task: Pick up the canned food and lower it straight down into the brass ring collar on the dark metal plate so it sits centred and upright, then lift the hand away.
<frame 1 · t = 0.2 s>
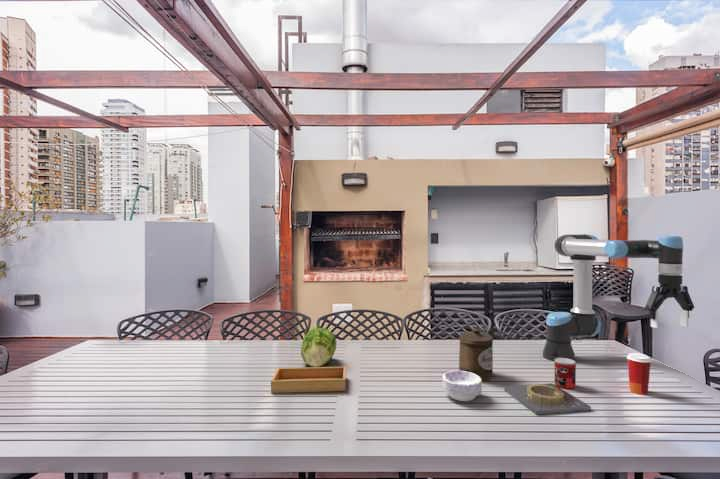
hand: (669, 326, 154), 28 cm above the table, tool pointing down, fingers open, 13 cm apart
wooden container: (475, 375, 176), on the table
canned food: (564, 386, 164), on the table
tray: (310, 386, 165), on the table
collar plate: (544, 399, 150), on the table
paper bowls: (461, 397, 153), on the table
coffee cup: (638, 392, 158), on the table
lettuce: (318, 364, 191), on the table
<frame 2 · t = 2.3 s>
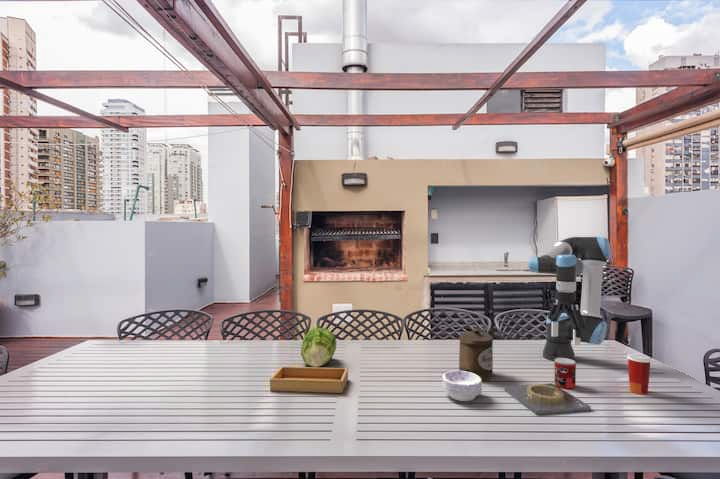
hand: (565, 340, 163), 20 cm above the table, tool pointing down, fingers open, 13 cm apart
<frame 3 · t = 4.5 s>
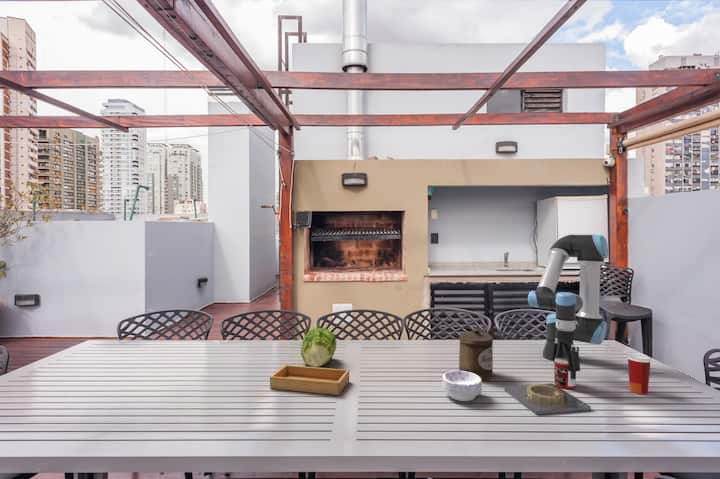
hand: (564, 381, 164), 2 cm above the table, tool pointing down, fingers closed on canned food, 8 cm apart
canned food: (564, 386, 164), on the table, touching gripper
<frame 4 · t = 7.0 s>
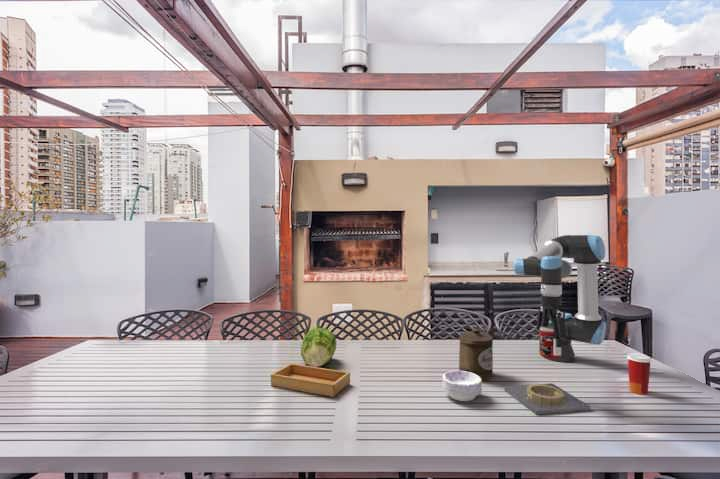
hand: (550, 351, 153), 18 cm above the table, tool pointing down, fingers closed on canned food, 8 cm apart
canned food: (550, 356, 153), point 16 cm above the table, touching gripper
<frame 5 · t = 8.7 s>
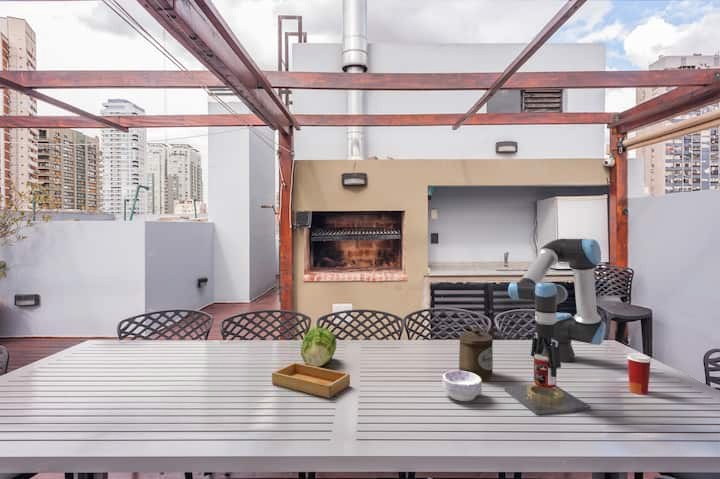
hand: (545, 380, 150), 8 cm above the table, tool pointing down, fingers closed on canned food, 8 cm apart
canned food: (544, 384, 150), point 6 cm above the table, touching gripper
when the fingers open (4 cm above the table, at t = 9.8 s): canned food stays where it is, resting on collar plate.
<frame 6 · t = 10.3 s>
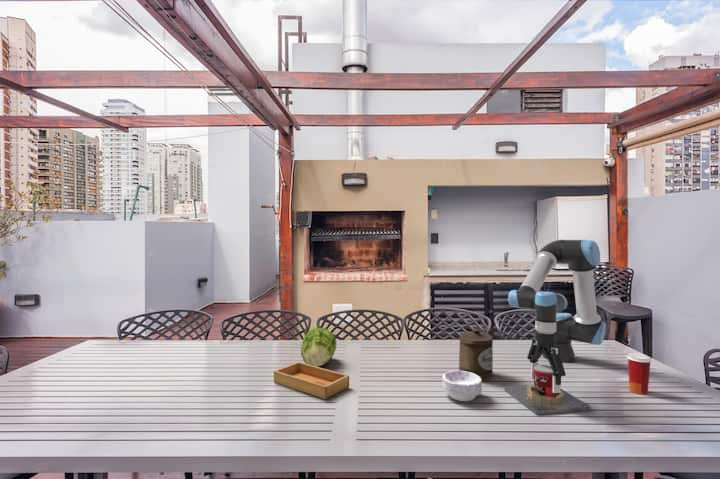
hand: (545, 385, 150), 6 cm above the table, tool pointing down, fingers open, 13 cm apart
canned food: (544, 396, 150), point 1 cm above the table, touching collar plate
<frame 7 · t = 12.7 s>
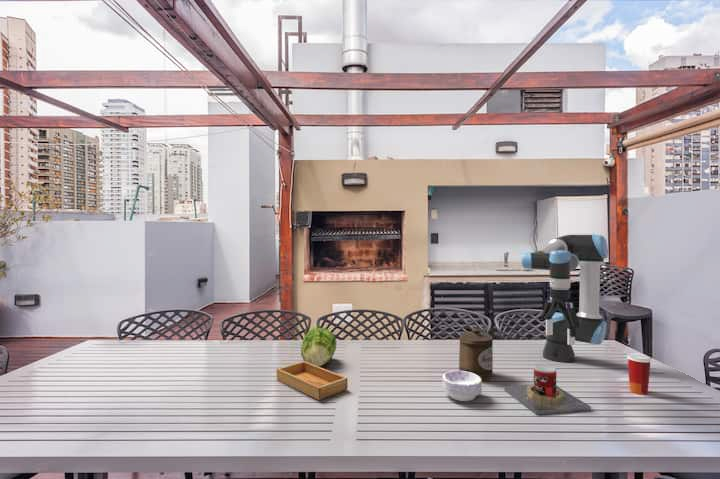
hand: (559, 339, 157), 22 cm above the table, tool pointing down, fingers open, 13 cm apart
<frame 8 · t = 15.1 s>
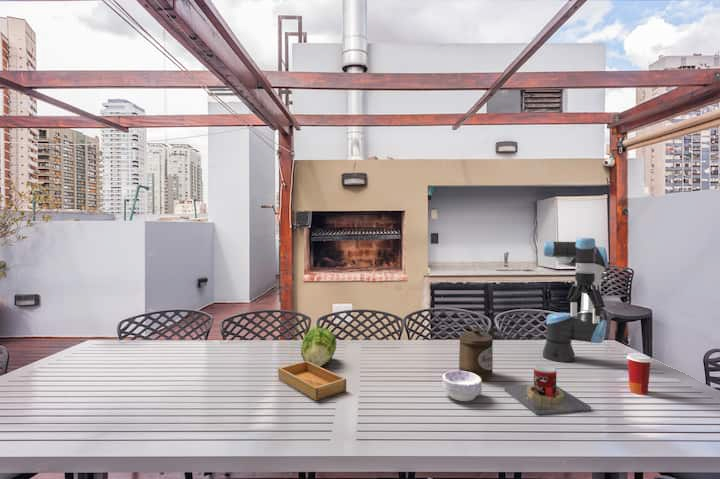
hand: (584, 319, 171), 27 cm above the table, tool pointing down, fingers open, 13 cm apart
at the end: canned food 0.1 cm off-centre on the collar plate, point 1.3 cm above the collar plate's base; canned food tilted 0°; the gripper is holding nothing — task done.
